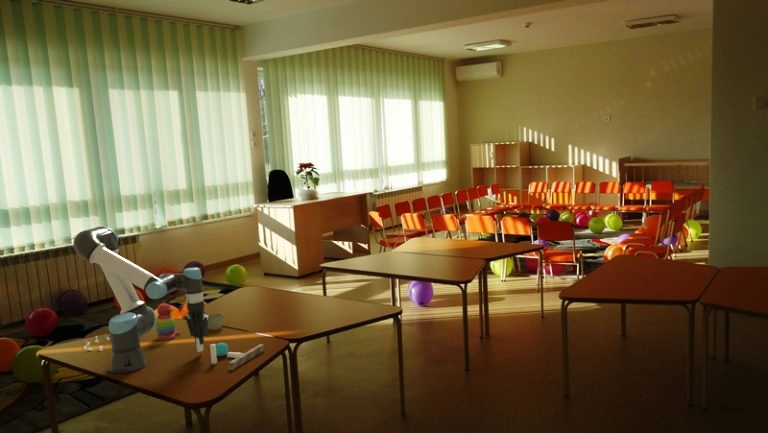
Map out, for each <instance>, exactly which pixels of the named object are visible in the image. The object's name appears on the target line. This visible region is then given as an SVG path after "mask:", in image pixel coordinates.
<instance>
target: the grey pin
mask: <svg viewBox="0 0 768 433" xmlns="http://www.w3.org/2000/svg"><path fill="white" fill-rule="evenodd" d="M216 345H217V344H216V343H210V344H209V348H210V349H209V350H210V360H211V365H217V364H218V358H217V357H218V355H217V354H216ZM216 363H217V364H216Z"/></svg>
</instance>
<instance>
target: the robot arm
mask: <svg viewBox="0 0 768 433" xmlns="http://www.w3.org/2000/svg"><path fill="white" fill-rule="evenodd" d="M118 236H119V235H118V234H117V232H116V231H115V230H114V229H113V228H111V227H108V226H96V227H94V228H93V227H92V228H89V229H86V230H82V231H80V232H78V233H77V234H76V235H75V237H74V238H73V242H72V244H73V249H74V251H75V252H76V254H78V256H79V257H81V258H82V259H83V260H85V261H87V262H89V263H90V264H94V263H96V264H98V265H99V266H100V268H101V270H102V271H103V273H104V276H105V277H106V280H107V282H108V285H109V286H110V288H111V290H112V291H113V292H112V293H114V296H115V298H116V299H117V300H116V301H117V302H118V304H119V306H120V308H121V310H120V314H116V315H114V316H113V317H111V318H110V320H109V321H108V332H109V340H110V345H111V357H110V363H109V364H108V365H109V372H110V373H112V374H125V373H132V372H135V371H138V370H140V369H143V368H144V367H146V365H147V364H148V363H147V358H146V356H145V354H144V351H143V350H142V348H141V343H140V342H141V341H140V338H141V337H142V336H144V335H145V334H147V333H149V332H150V331H151V330H152V329H153V328H154V327H156V319H157V314H156V312H155V310H154V309H153V308H152V307H149V306H147V304H146V302H145V301H144V300H140V297H139V296H138V294H137V292H136V289H135V287H134V285H135V286H136V287H138V288H140V289H141V290H144V291H145V293H146V295H147V296H148V298H149V299H152V300H157V299H161V298H164V297H165V296H166V295H168V294H170V293H171V292H173V291H175V290H176V291H179V290H185V298H186V300H185V301H186V307H187V309H186V310H187V311H188V312H187V313H188V314H186V315H185V316H183V317H184V319H185V321H186V324H187V328H188V330H189V334H190V336H191V337H193V338H194V343H195V345H196V352H199V353H200V352H203V351H204V350H205V349H204V344H205V339H204V337H205V336H207V335H208V329H209V327H208V320H209V318H210V316H207V315H208V314H206V312H205V308H206V307H205V301H204V291H203V289H204V288H203V277H202V271H201V269H200V267H194V266H193V267H187V268H185V269H184V270H183V272H181V273H177V272H176V273H164V274H163V273H162V274H160V275H159V276H156V275H155V274H152V273H151V272H149V271H148V270H146V269H144V268H142V267H140V266H139V265H137V264H135V263H134V262H132V261H130V260H129V259H126V258H125V257H122V256H121V255H119V254H118V253H119V250H120V248H119V247H118V242H119V237H118Z"/></svg>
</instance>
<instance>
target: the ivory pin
mask: <svg viewBox="0 0 768 433" xmlns="http://www.w3.org/2000/svg"><path fill="white" fill-rule="evenodd" d="M244 353H245V352H236V351H235V352H234V351H228V352H227V354H226V356H227V358H231V359H232V358H233V359H236V358H238V357H239V356H241V355H243V354H244Z"/></svg>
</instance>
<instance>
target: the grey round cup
mask: <svg viewBox="0 0 768 433" xmlns="http://www.w3.org/2000/svg"><path fill="white" fill-rule="evenodd" d="M206 315H207V316H210V318H209V320H208V329H209V330H211V331H217V330H220V329H221V328H222V325H223V322H224V317H225V316H224V314H223V313H222V312H215V313H209V314H206Z"/></svg>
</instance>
